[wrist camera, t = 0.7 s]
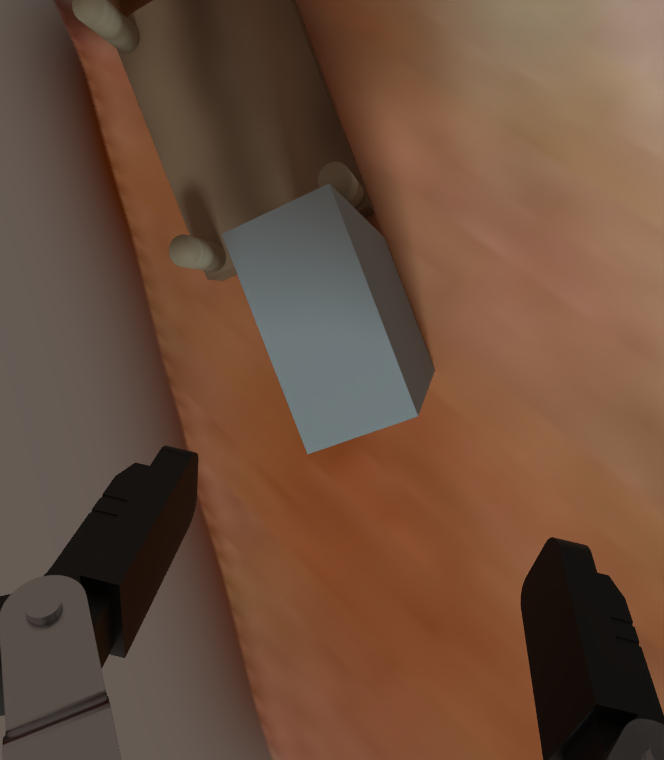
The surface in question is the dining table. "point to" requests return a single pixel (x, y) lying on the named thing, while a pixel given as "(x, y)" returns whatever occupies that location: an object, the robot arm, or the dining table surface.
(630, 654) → the robot arm
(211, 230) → the peg stand
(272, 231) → the rectangular block
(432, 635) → the dining table surface
